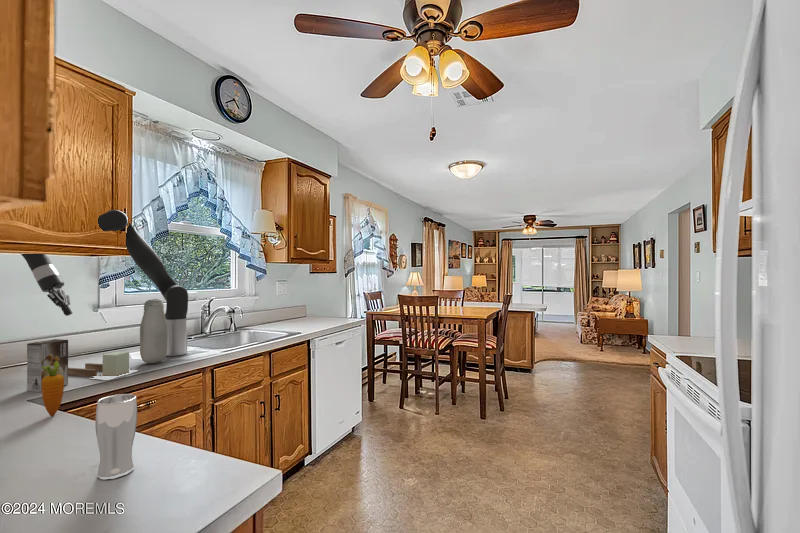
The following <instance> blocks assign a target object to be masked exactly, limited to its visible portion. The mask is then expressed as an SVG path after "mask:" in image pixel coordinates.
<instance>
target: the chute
mask: <svg viewBox="0 0 800 533" xmlns="http://www.w3.org/2000/svg"><path fill="white" fill-rule="evenodd" d="M102 368H103V363H90V362H88V363H85V364H84V368H78V367H77V368H76V367H68V376H74V375H81V376H80V377H89V376H98V371H97V370H100V371H99V372H102Z"/></svg>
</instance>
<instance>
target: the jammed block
mask: <svg viewBox="0 0 800 533" xmlns="http://www.w3.org/2000/svg"><path fill="white" fill-rule="evenodd" d="M102 364H103V368H102V371H101V372H102V373H101V374H102V376H119V375H122V374H126V373H129V369H130V351H113V352H109V353H105V354H104V353H103V354H102Z"/></svg>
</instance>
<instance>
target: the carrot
mask: <svg viewBox="0 0 800 533" xmlns="http://www.w3.org/2000/svg"><path fill="white" fill-rule="evenodd" d="M59 366H60V365H59V362H57V361H55V362H54V369H53V371H52V369H51V368H50V366H46V367H43V368H42V369H45V370H46V371H47V372H48V373H49V376H46V377H44V378H43V379H42V392H41V397H42V402H43V405H44V408H45V410H46V412H47V413H48V415H49V416H50V417H54V416H55V415H56V414H57V412H58V410H59V408H60V407H61V404H62V401H63V396H64V390H65V386H64V377H63V376H62V375H56V374H57V370H58V368H59Z"/></svg>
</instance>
